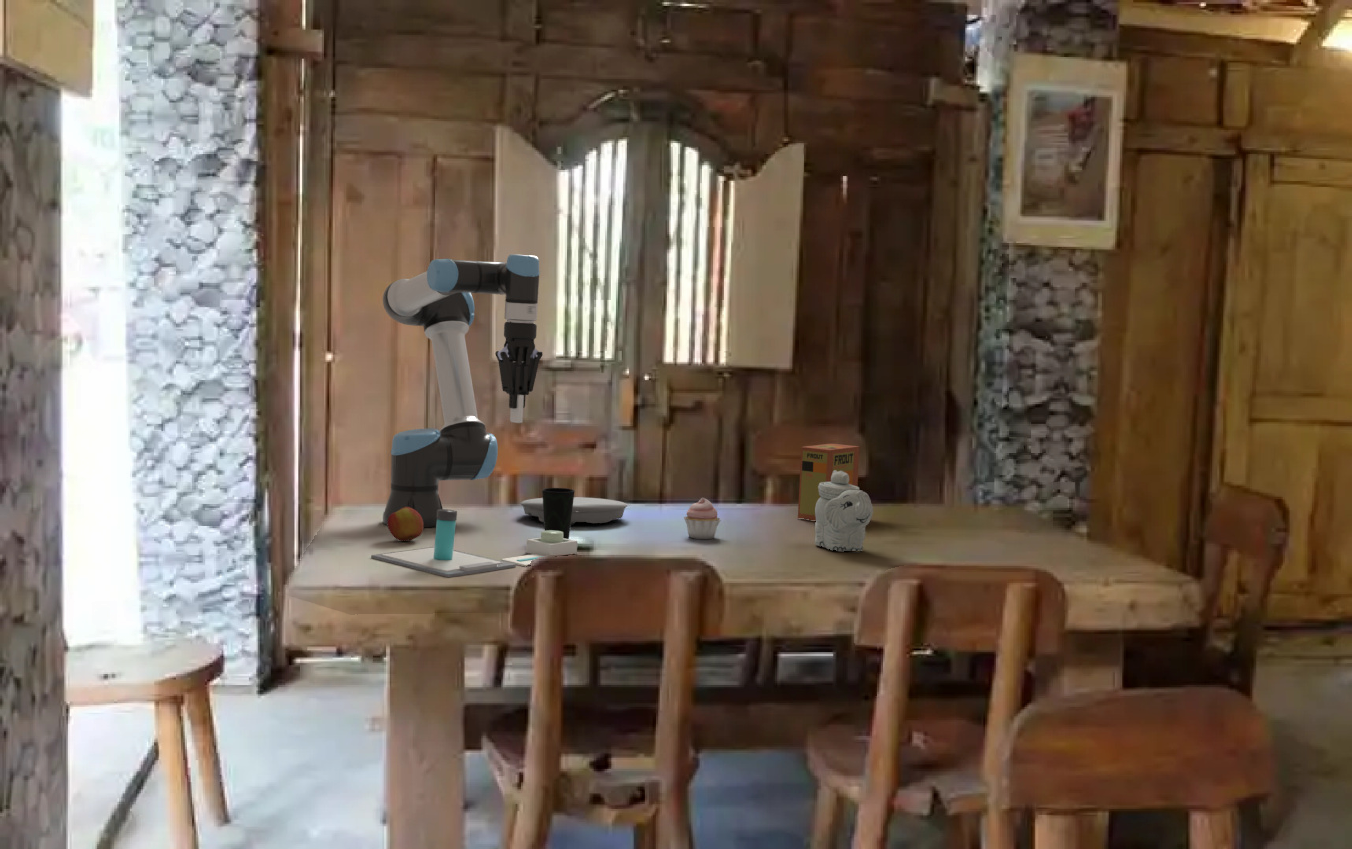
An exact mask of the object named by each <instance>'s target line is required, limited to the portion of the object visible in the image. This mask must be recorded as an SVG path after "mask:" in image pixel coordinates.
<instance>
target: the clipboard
mask: <svg viewBox="0 0 1352 849" xmlns="http://www.w3.org/2000/svg"><path fill="white" fill-rule="evenodd" d="M370 556H371V557H370V558H371V559H375V560H378V561H383V562H386V563H391V564H395V565H398V566H402V567H405V568H411V569H414V570H417V571H422V572H426V573H430V574H434V575H438V576H441V577H446V578H453V577H458V576H459V577H461V576H466V575H474V574H478V573H479V574H480V573H486V572H492V571H498V570H499V571H500V570H506V569H512V568H516V566H517V565H516V564H512V563H508V562H504V561H501V560H499V559H495V558H490V557H485V556H481V555H479V554H473V553H469V552H465V551H464V552H463V551H460V550H456V549H453V558H452V560H439V559H435V558H433V557H434V546H430V547H423V548H414V549H407V550H399V551H392V552H383V553H377V554H371V555H370Z"/></svg>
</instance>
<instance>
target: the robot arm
mask: <svg viewBox="0 0 1352 849" xmlns="http://www.w3.org/2000/svg"><path fill="white" fill-rule="evenodd" d="M540 272H541V271H540V259H539V257H538V256H536V255H529V254H528V255H527V254H526V255H525V254H510V255H508V256H507V259H506V262H504V261H501V262H500V261H496V262H495V261H482V260H481V261H480V260H479V261H478V260H461V259H450V258H441V259H439V258H437V259H436V258H435V259H433V260H431V261H430V263H429V265H428V267H427V271H423V272H422V273H420V274H418V275H416V276H413V277H412V278H401V279H397V280H396V281H393V282H391V283H389V285H388V286H387V287H385V290H384V291H383V296H382V305H383V308H384V310H385V312H386V314H387V315H388V316H389V317H390V318H392V320H394V321H396V322H397V323H399V324H402V325H406V326H415V327H423V331H424V336H425V338H427V339H429V340H430V341H431V344H432V345H431V346H432V350H433V358H434V364H435V370H436V371H435V372H436V377H437V384H438V390H439V394H440V395H439V397H440V403H441V409H442V415H443V416H442V418H443V423H444V425H443V426H442V427H441V428H440V430H439V429H437V428H431V427H430V428H417V429H416V428H415V429H409V430H404V431H401V432H397V433H396V434H395V435H394V436H393V437H392V442H391V443H392V444H391V450H390V454H391V456H390V458H391V461H390V465H391V468H390V469H391V470H390V493H389V496H388V499H387V502H386V506H385V508H384V511H383V513H382V523H383V524H384V525H387V526H388V518H389V516H390V515H391V514H392V513H394V512H397V511H398V510H400V509H402V508H404V507H410V508H412V509H414V510H416V511H417V512H418V513H419V514H420V516H421V517H422V520H423V528H432V527H433V528H434V527H436V524H437V510H439V509H444V508H443V505H442V504H443V503H442V501H441V498H440V494H439V481H467V480H470V481H474V480H481V479H482V480H483V479H487V478H488V477H490V475H491V474H492V473H493V472H494V469H495V467H496V464H497V460H498V454H499V453H498V452H499V448H498V440H497V438H496V437H495V435H494V434H493V433H490V432H487V428H486V424H485V423H484V422H483V421H481V420H480V419H479V417H478V416H479V415H478V410H477V404H476V398H475V392H474V387H473V381H472V374H471V368H470V361H469V355H468V350H467V344H466V337H465V335H466V334H467V333H468V332H469V331H470V326H471V325H472V324H473V322H474V319H475V302H474V298H473V295H472V294H484V295H485V294H487V295H488V294H489V295H490V294H491V295H502V296H503V295H505V300H504V302H505V303H504V319H505V320H506V321H505V322H504V325H503V326H504V327H503V336H504V338H505V342H504V344H503V348H502V349H500V350H497V351H495V356H496V358H497V361H498V366H499V374H500V381H501V382H500V383H501V388H502V391H503V392H505V393H506V394H508V396H509V398H508V401H509V402H508V408H509V409H510V412H509V413H510V415H509V422H511V423H515V424H521V423H524V422H523V421H524V409H525V407H526V396H529V394H530V392H533V390H534V386H535V382H536V377H537V372H538V367H539V363H540V361H541V359H542V357H543V354H544V353H543V352H542V351H539V350H538V349H537V348H536V344H535V339H537V323H535V322H536V321H538V319H537V318H538V306H539V305H538V300H539V285H540V274H541V273H540Z"/></svg>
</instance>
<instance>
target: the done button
mask: <svg viewBox="0 0 1352 849" xmlns="http://www.w3.org/2000/svg"><path fill="white" fill-rule="evenodd" d="M540 538H541V541H542V542H546V543H551V544H552V543H559V542H563V532H562V531H554V530H547V531H545V530H542V531H540Z"/></svg>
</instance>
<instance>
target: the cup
mask: <svg viewBox="0 0 1352 849" xmlns="http://www.w3.org/2000/svg"><path fill="white" fill-rule="evenodd" d="M541 494H542V498H543V512H544V522H543V526H544V529H543V530H544V531H547V530H554V531H562V532H563V538H565V539H570V532H571V531H570V530H571V525H570V524H571V516H572V508H573V500H574V497H575V490H574V489H572V488H564V487H548V488H547V487H546V488H542V492H541Z"/></svg>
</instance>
